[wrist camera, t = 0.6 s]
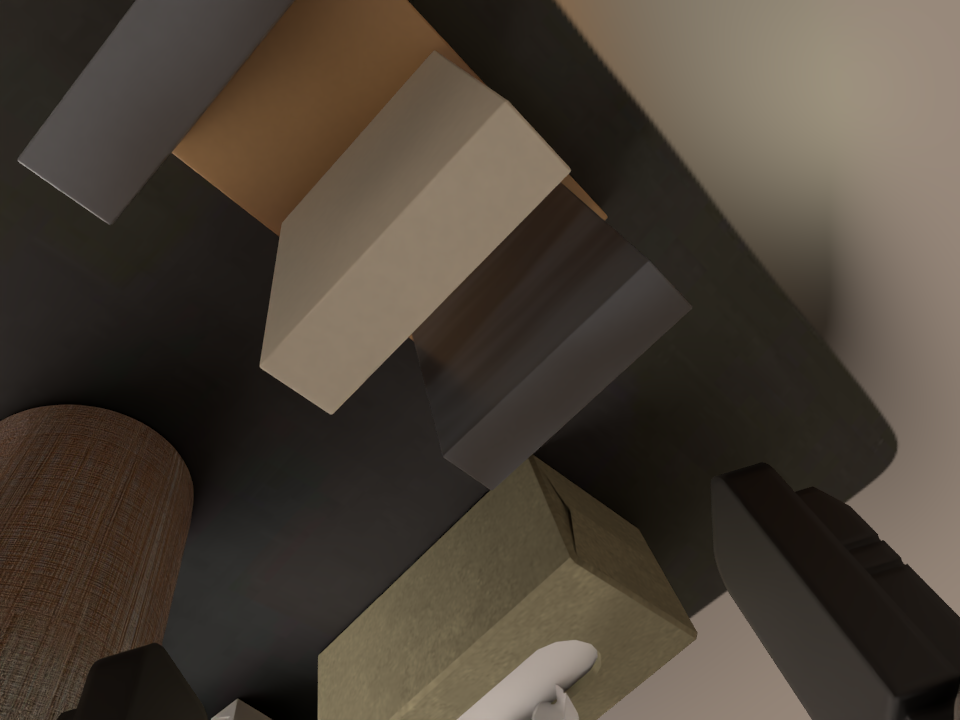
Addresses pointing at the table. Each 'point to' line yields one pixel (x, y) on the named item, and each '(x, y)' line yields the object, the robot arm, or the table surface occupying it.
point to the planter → (82, 548)
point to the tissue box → (512, 616)
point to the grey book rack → (311, 153)
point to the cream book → (399, 228)
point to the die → (240, 712)
